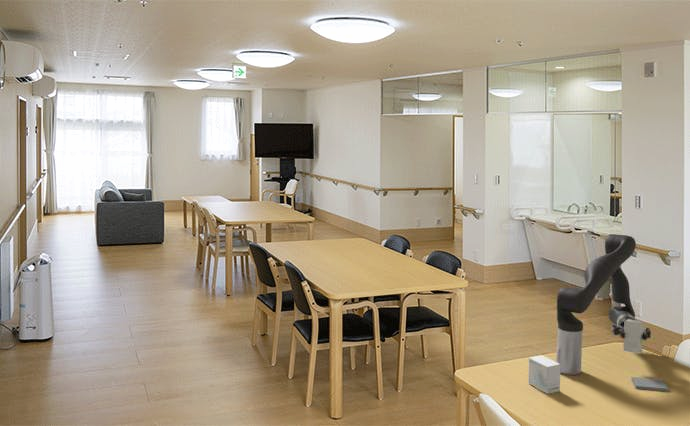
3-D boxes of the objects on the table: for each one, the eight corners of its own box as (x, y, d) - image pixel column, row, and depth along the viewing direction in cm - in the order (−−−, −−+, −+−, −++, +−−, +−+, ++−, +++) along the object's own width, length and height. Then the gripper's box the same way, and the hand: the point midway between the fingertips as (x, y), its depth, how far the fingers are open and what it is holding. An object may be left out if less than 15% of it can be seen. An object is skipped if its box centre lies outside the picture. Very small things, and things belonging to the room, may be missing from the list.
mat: (635, 388, 236) (635, 385, 236) (631, 379, 245) (631, 376, 245) (668, 391, 233) (668, 388, 233) (663, 382, 242) (663, 379, 242)
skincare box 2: (642, 351, 251) (644, 321, 250) (638, 354, 248) (640, 324, 247) (626, 348, 256) (628, 318, 254) (622, 350, 252) (624, 320, 251)
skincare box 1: (527, 384, 241) (528, 357, 239) (541, 381, 243) (542, 354, 242) (546, 394, 231) (547, 366, 230) (560, 391, 233) (561, 363, 232)
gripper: (609, 314, 266) (615, 325, 250) (647, 317, 262) (655, 329, 247) (608, 332, 267) (614, 344, 251) (646, 335, 263) (654, 348, 247)
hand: (634, 336), depth 249 cm, fingers closed on skincare box 2, 7 cm apart
